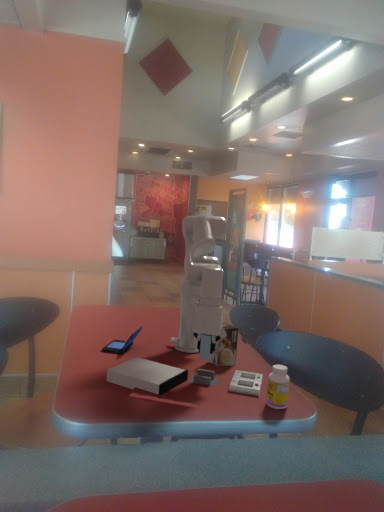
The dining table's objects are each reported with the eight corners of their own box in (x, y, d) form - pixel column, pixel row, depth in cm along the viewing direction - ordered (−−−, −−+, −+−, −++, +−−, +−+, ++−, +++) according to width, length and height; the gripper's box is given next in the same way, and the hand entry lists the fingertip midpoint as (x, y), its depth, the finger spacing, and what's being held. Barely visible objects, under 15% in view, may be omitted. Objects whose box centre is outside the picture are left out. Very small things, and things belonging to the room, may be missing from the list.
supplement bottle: (263, 400, 138) (267, 362, 137) (283, 401, 138) (286, 363, 137) (269, 409, 131) (272, 370, 130) (289, 410, 132) (293, 370, 131)
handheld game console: (113, 342, 191) (115, 322, 190) (141, 346, 189) (143, 326, 188) (100, 352, 176) (101, 330, 175) (130, 356, 173) (132, 334, 173)
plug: (199, 359, 148) (201, 332, 147) (201, 355, 151) (203, 330, 150) (209, 360, 147) (211, 334, 146) (211, 357, 151) (213, 331, 150)
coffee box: (227, 361, 175) (230, 324, 174) (235, 366, 169) (239, 327, 168) (208, 363, 171) (211, 325, 169) (216, 368, 165) (219, 329, 164)
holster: (187, 384, 147) (188, 374, 146) (192, 376, 154) (193, 367, 154) (215, 389, 144) (216, 379, 144) (219, 381, 152) (220, 371, 152)
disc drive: (160, 400, 133) (161, 384, 133) (105, 382, 144) (106, 368, 144) (187, 383, 149) (188, 369, 148) (136, 369, 160) (137, 356, 159)
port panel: (228, 393, 141) (229, 384, 141) (235, 377, 157) (236, 368, 156) (258, 398, 139) (259, 388, 139) (262, 382, 154) (262, 373, 154)
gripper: (184, 300, 145) (180, 351, 147) (231, 306, 142) (227, 359, 144) (189, 297, 153) (186, 345, 155) (234, 302, 149) (230, 352, 151)
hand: (205, 351), depth 149 cm, fingers closed on plug, 3 cm apart
